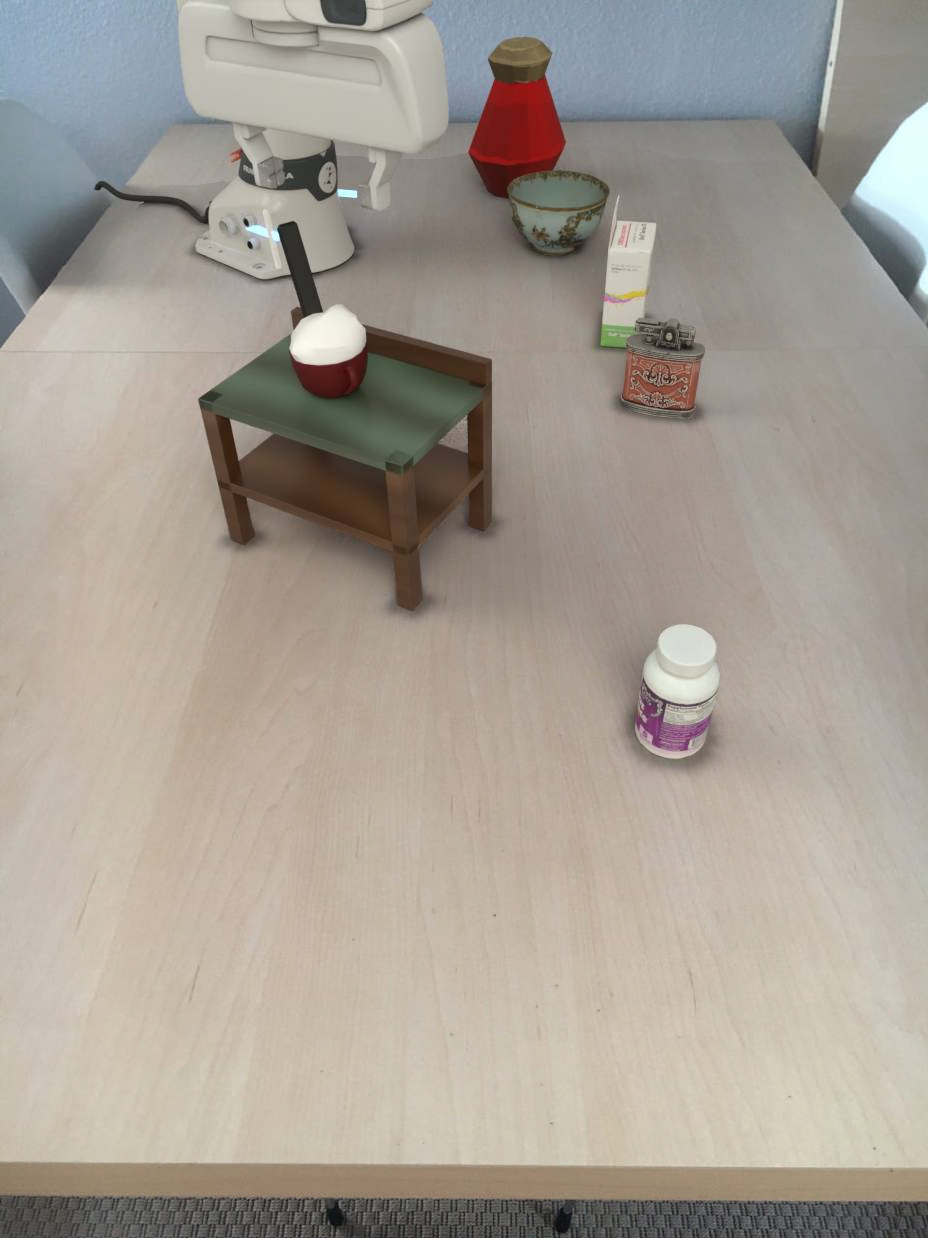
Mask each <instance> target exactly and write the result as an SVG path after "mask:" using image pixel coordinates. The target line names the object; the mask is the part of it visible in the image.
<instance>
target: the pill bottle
mask: <svg viewBox="0 0 928 1238" xmlns="http://www.w3.org/2000/svg"><path fill="white" fill-rule="evenodd" d="M717 648H718V647H717V643H716V640H715V639H714V637H713V636H712V635H711V634H710V633H709V632H708V631H707V630H705V629H704V628H702V627H700V626H696V625H693V624H687V623H679V624H675V625H671V626H668V627H667V628H665V629H664V630H663V631H661V633H660V634H659V637H658V639H657V643H656V648H654V649H653V651H651V652H650V653H649V655H648V656H647V658H646V660H645V661H644V665H643V669H642V675H641V681H640V688H639V696H638V702H637V708H636V716H635V724H634V728H635V735H636V738H637V739H638V741H639V743H640V744H641V746H643V747H644V748H645V749H646V750H647V751H649V752H650V753H652V754H654V755H656V756H658V757H662V758H665V759H672V760H677V759H678V760H679V759H684V758H688V757H691V756H693V755H695V754H696V753H697V752H698V751H700V750H701V749H702V747H703V746H704V744H705V742H706V739H707V735H708V732H709V728H710V723H711V721H712V720H711V719H712V715H713V712H714V708H715V703H716V701H717V700H716V699H717V695H718V691H719V688H720V683H721V682H720V681H721V672H720V671H721V670H720V668H719V667H720V666H719V665H718V663H717V661H716V656H717V650H718V649H717Z"/></svg>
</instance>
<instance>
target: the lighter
mask: <svg viewBox="0 0 928 1238" xmlns="http://www.w3.org/2000/svg"><path fill="white" fill-rule="evenodd" d="M634 331H635V332H637V333H642V335H641V334H635V335H631V336H629V337H628V338H627V342H626V348H625V349H626V358H625V359H626V360H625V367H624V377H623V387H622V393H621V394H620V400H619V405H620V407H621V408H623V409H624V410H628V411H631V412H636V413H638V414H644V415H649V416H653V417H660V418H661V417H662V418H668V419H669V418H671V419H690V418H692V417H693V416H694V415H695V413H696V405H697V404H696V396H697V388H698V383H699V379H700V372H701V365H702V360H703V359H704V357H705V350H706V347H705V346H704V345H703V344H702V343H700V342H697V341H694V340H695V338H696V331H697V327H696V326H694V325H689V324H683V323H680V321H679V320H678V319H677V318H673V317H672V318H668V319H667V320H666V321H661V320H660V319H656V318H649V317H645V318H642V317H639V318H638V319H637V320H636V321H635V330H634Z"/></svg>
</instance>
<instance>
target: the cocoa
mask: <svg viewBox="0 0 928 1238" xmlns="http://www.w3.org/2000/svg"><path fill="white" fill-rule="evenodd" d="M277 231H278V234H279V237H280V241H281V244H282V247H283V251H284V254H285V257H286V261H287V264H288V267H289V270H290V274H291V275H290V276H291V280H292V283H293V286H294V290H295V293H296V297H297V300H298V303H299V307H301V310H302V313H303V317H304V318H303V319H301V321H300V322H299V324H298V325H297V327H296V328H295V330H293V331H292V332H293V333H292V332H291V333H292V334H291V333H290V334H291V344H290V348H289V349H290V351H289V354H290V358H291V362H292V365H293V368H294V370H295V372H296V375H297V377H298V379H299V381H300V383H301V385H302V387H303V388H304V389H306V390H307V391H308V392H310V393H312V394H313V395H315V396H319V397H322V398H338V397H342V396H345V395H348V394H351V393H353V392H354V391H355V390H356V388H358V387H359V386H360V384H361V383H362V381H363V379H364V376H365V374H366V368H367V359H368V352H367V343H366V330H365V328H364V327H363V325H362V324H363V323H361V321H360V319H359V318H358V316H357V315H356V314H355V313H354V312H352V311H350V310H349V309H348V308H347V307H346V306H345V305H344V304H343V303H338V304H337V303H335V304H333V305H332V306H330V307H329V308H327V309H326V310H325V311H324V309H323V306H322V303H321V299H320V296H319V292H318V289H317V286H316V282H315V279H314V276H313V273H312V272H311V269H310V265H309V262H308V259H307V255H306V252H305V248H304V245H303V242H302V238H301V235H300V231H299V228H298V225H297V223H296V222H294V221H291V222H287V223H283V224H280V225H278V228H277Z"/></svg>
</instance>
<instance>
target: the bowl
mask: <svg viewBox="0 0 928 1238" xmlns="http://www.w3.org/2000/svg"><path fill="white" fill-rule="evenodd" d="M507 192H508V194H509V198H508V201H509V210H510V215H511V216H510V217H511V220H512V223H513V224H514V226H515V228H516V229H517V232H518V233H519V234H520V235H521V236H522V237H523V239H525V240H526V241H527V242H529V243H531V244H532V247H533V250H534V251H535V252H537V253H539V254H540V255H543V256H551V257H559V256H561V257H562V256H566V255H569V254H572V253H573V252H575V251H576V250H577V248H578V246H579V245H580V244H583V243H584V242H586V241H587V240H588V239H589V238H590V237H591V236H592V235H593V234H594V233H595V231H596V230H597V229H598V227H599V225H600V223H601V221H602V218H603V216H604V212H605V208H606V203H607V200H608V198H609V196H610V187H609V185H608V184H607V183H606V182H605V181H603V179H602V180H601V179H600V178H598V177H595V176H594V175H591V174H587V173H582V172H578V171H572V170H571V171H570V170H561V169H560V170H553V171H542V172H536V173H530V174H526V175H523V176H521V177H518V178H516V179H514V180H513V181H512V182H511V183H510V184H509V185H508V188H507Z"/></svg>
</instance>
